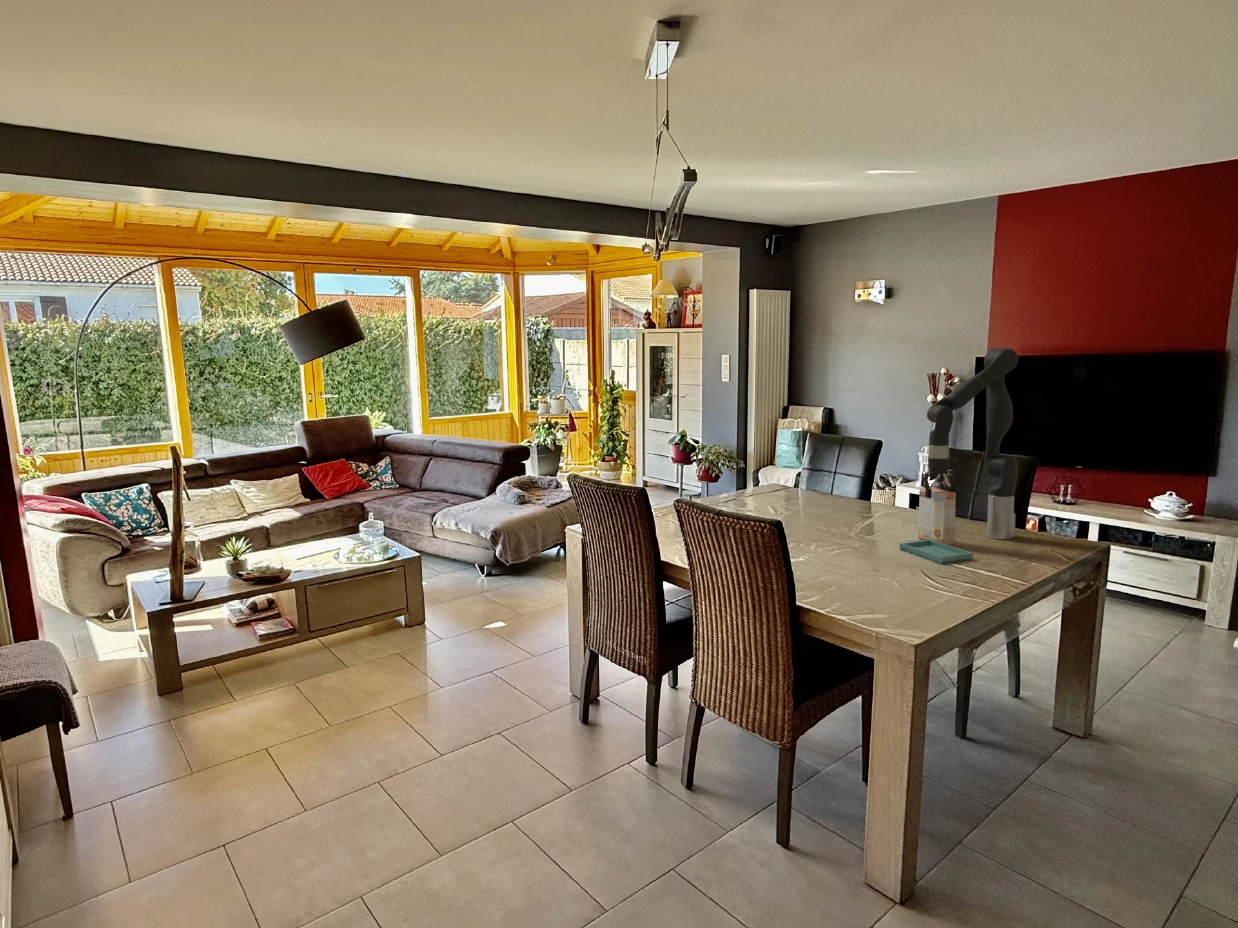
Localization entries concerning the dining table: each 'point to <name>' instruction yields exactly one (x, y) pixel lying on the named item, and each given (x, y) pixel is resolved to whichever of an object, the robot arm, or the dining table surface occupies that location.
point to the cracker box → (937, 516)
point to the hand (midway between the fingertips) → (937, 497)
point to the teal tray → (936, 551)
